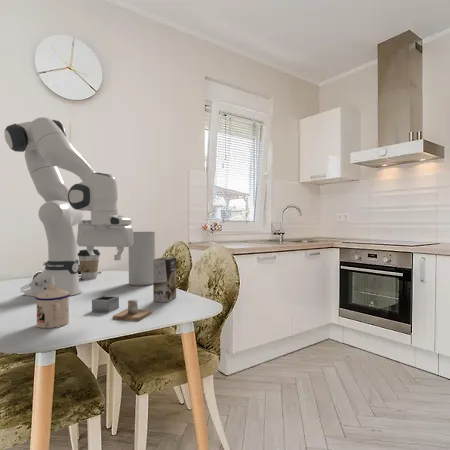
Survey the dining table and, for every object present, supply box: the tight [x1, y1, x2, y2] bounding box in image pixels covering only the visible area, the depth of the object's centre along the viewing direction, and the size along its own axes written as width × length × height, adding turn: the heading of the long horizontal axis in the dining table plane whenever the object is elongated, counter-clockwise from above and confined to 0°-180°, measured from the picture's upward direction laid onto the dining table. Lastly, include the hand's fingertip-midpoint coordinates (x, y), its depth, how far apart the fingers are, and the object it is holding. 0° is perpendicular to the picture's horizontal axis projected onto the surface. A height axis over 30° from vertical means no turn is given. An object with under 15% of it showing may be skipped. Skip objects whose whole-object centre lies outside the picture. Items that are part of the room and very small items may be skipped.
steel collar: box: [91, 295, 120, 314], centre depth 119 cm, size 6×6×4 cm
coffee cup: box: [77, 248, 101, 281], centre depth 182 cm, size 11×11×15 cm
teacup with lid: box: [35, 285, 71, 329], centre depth 102 cm, size 12×9×12 cm
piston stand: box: [112, 299, 153, 322], centre depth 112 cm, size 9×9×5 cm
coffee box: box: [152, 256, 177, 303], centre depth 135 cm, size 9×6×16 cm
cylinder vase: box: [128, 231, 156, 287], centre depth 167 cm, size 12×12×25 cm
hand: (105, 259), depth 119 cm, fingers open, 8 cm apart
